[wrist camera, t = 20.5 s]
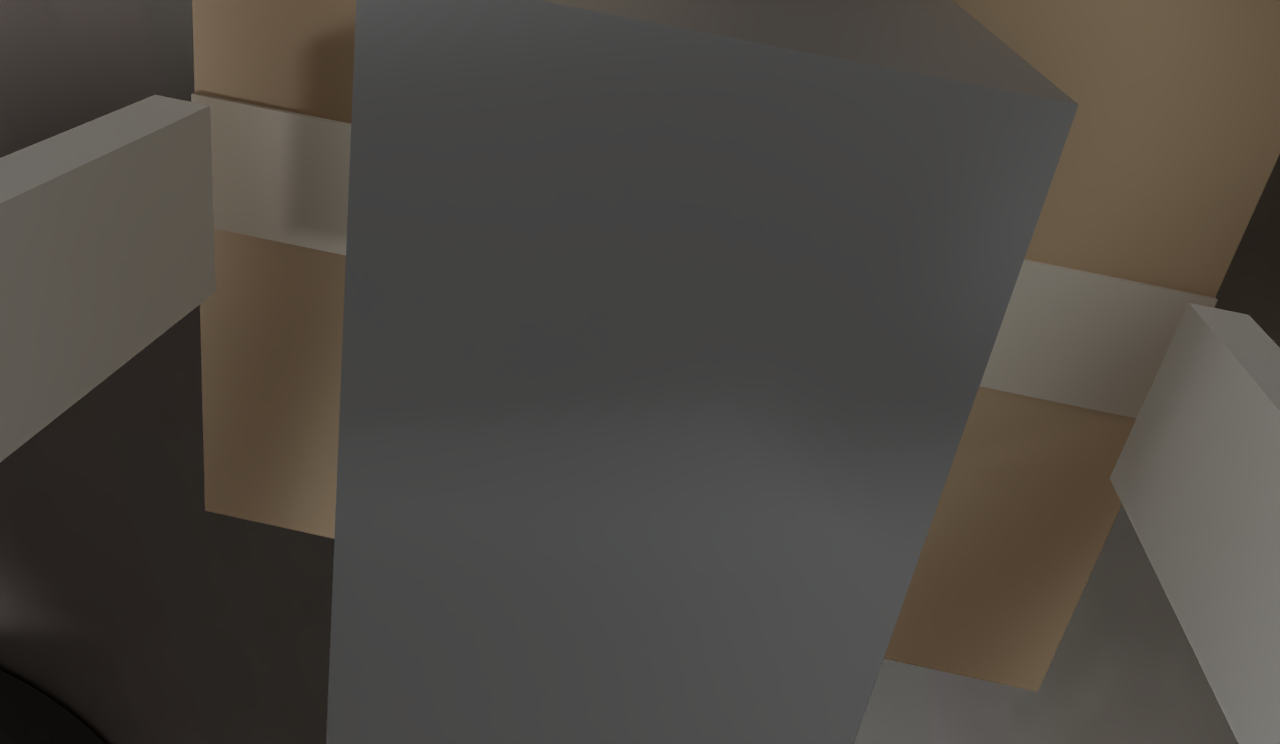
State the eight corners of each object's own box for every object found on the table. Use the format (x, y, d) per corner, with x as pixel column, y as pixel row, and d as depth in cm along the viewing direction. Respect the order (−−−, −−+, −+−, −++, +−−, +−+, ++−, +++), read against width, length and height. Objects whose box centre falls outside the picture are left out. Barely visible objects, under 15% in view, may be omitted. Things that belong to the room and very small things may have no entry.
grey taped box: (491, 446, 17) (319, 780, 11) (553, -82, 14) (350, -36, 7) (800, 511, 17) (807, 892, 11) (946, -8, 13) (1086, 104, 7)
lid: (226, 487, 19) (202, 513, 18) (215, -338, 14) (179, -351, 13) (1028, 660, 19) (1039, 696, 18) (1371, -126, 13) (1409, -125, 12)
